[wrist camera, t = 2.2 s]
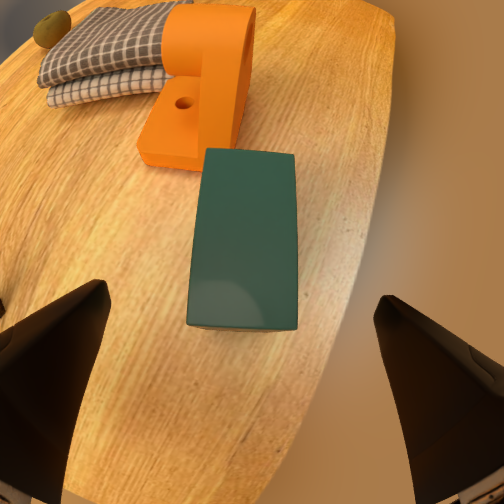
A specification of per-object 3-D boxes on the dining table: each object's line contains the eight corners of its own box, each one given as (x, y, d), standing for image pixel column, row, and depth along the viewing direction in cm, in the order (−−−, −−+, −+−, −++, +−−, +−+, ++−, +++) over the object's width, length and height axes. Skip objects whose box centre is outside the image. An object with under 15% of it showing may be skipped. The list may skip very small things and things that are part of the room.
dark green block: (266, 332, 18) (297, 330, 10) (205, 329, 17) (185, 324, 9) (268, 225, 20) (294, 153, 12) (213, 221, 20) (205, 146, 11)
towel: (50, 122, 20) (23, 69, 13) (101, 47, 27) (91, 7, 20) (183, 97, 22) (176, 25, 15) (198, 31, 28) (197, -14, 21)
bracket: (178, 83, 23) (167, -16, 12) (248, 90, 24) (263, -14, 12) (141, 169, 20) (91, 57, 9) (227, 180, 21) (233, 53, 9)
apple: (34, 60, 26) (22, 34, 19) (50, 40, 29) (41, 16, 22) (67, 46, 27) (56, 17, 20) (81, 28, 29) (73, 1, 23)
